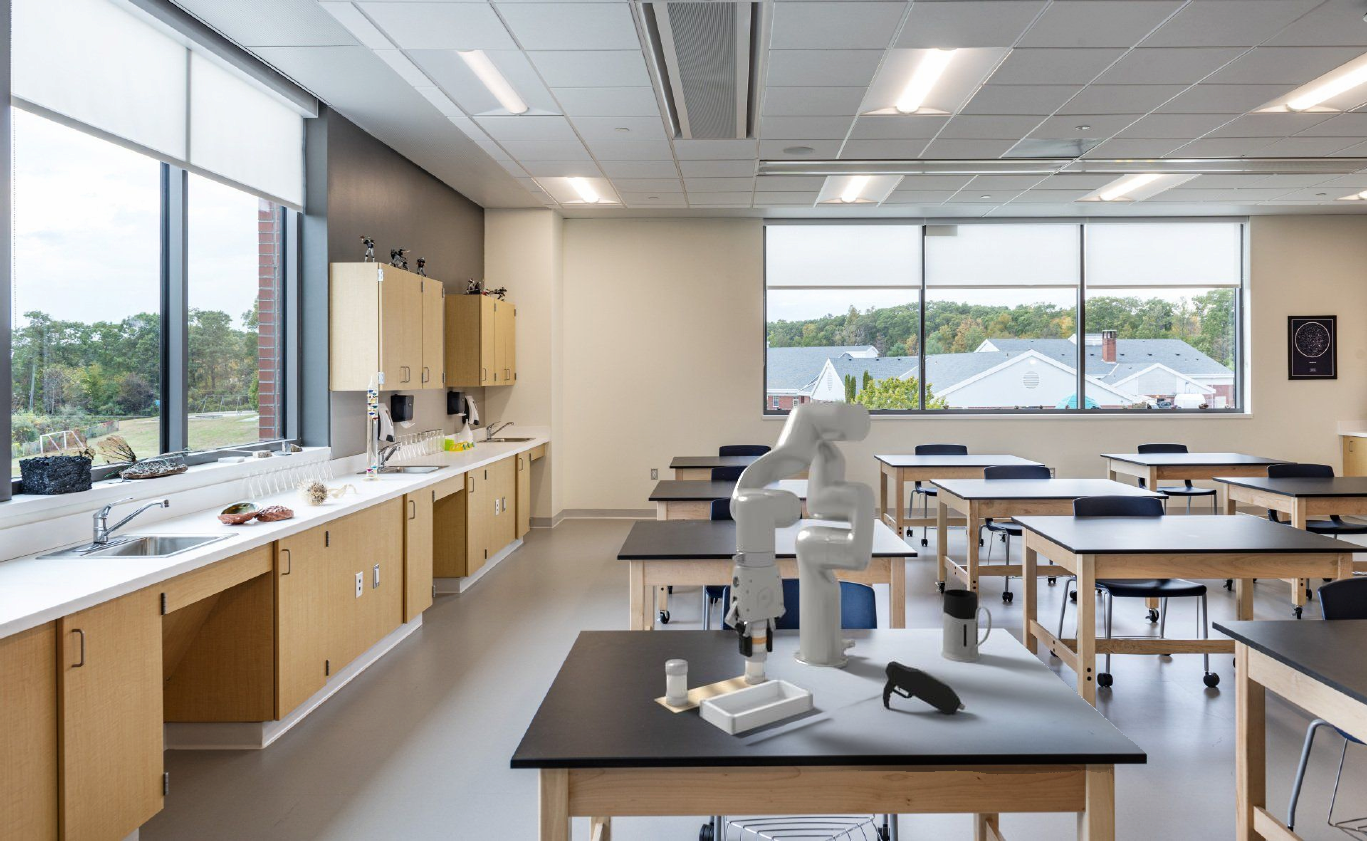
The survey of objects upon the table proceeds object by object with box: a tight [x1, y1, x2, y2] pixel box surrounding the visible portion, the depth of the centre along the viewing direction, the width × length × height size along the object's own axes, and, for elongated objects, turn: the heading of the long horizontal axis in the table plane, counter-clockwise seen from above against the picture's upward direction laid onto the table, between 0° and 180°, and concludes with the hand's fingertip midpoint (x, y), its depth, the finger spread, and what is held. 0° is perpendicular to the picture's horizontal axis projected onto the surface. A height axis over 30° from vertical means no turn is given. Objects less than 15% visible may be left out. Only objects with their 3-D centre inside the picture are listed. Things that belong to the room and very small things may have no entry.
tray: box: [699, 678, 814, 736], centre depth 151 cm, size 20×10×4 cm, turn 124°
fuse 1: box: [665, 658, 689, 707], centre depth 156 cm, size 4×4×8 cm
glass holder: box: [940, 588, 992, 663], centre depth 182 cm, size 9×14×15 cm, turn 21°
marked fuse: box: [743, 619, 768, 663], centre depth 151 cm, size 4×4×8 cm
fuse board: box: [653, 674, 772, 714], centre depth 162 cm, size 26×8×1 cm, turn 124°
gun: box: [882, 660, 966, 716], centre depth 154 cm, size 3×16×10 cm, turn 79°
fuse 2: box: [744, 659, 766, 685], centre depth 167 cm, size 4×4×8 cm
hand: (755, 651), depth 151 cm, fingers closed on marked fuse, 4 cm apart
